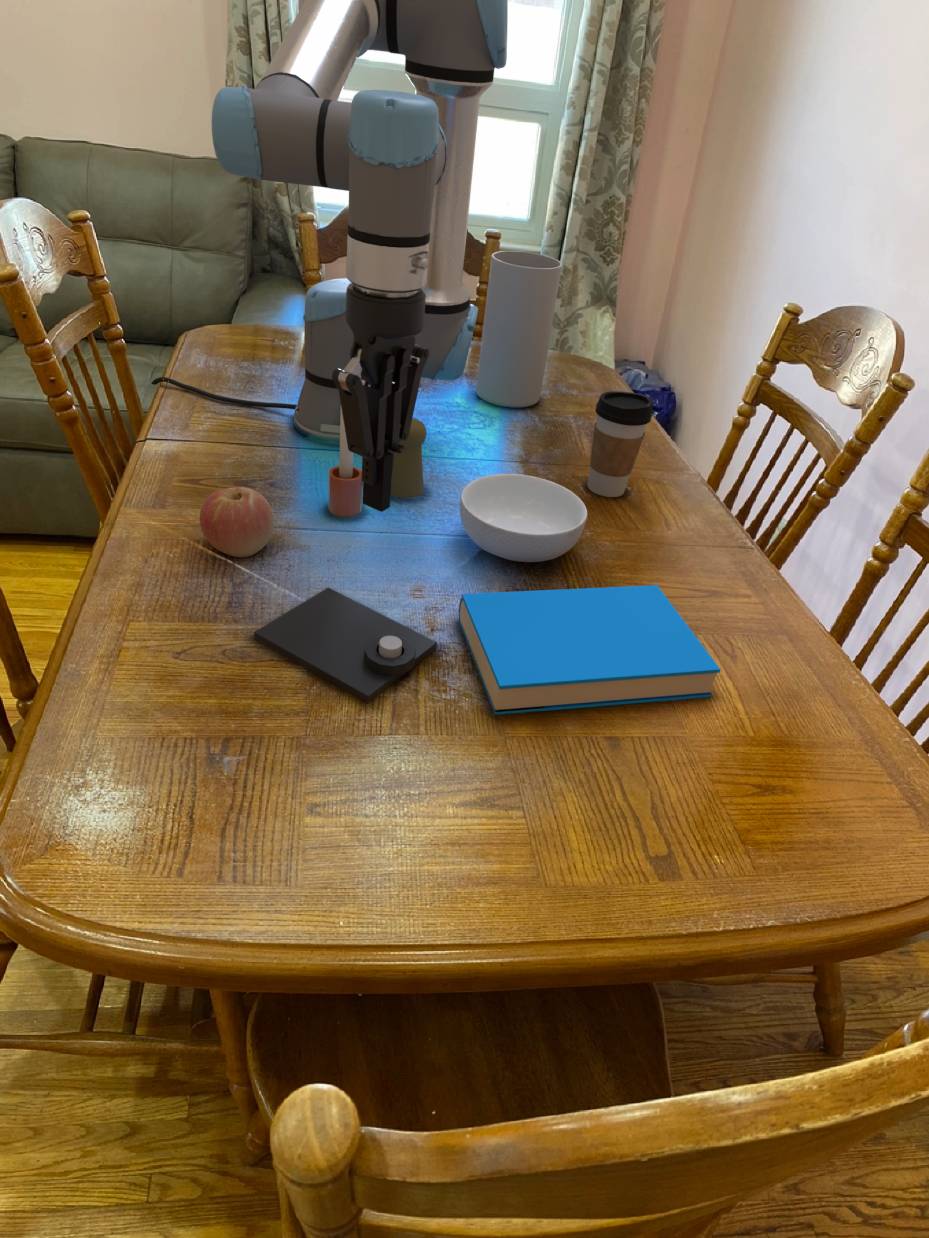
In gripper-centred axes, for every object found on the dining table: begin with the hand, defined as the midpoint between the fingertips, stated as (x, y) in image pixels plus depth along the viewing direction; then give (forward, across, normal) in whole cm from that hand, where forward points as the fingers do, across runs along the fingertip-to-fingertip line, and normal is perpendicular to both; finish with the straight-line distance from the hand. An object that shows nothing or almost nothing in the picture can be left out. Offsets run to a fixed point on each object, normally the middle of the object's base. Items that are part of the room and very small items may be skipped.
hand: (376, 505), depth 92 cm
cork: (+13, +25, +14) cm, 31 cm away
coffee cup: (+14, +49, -8) cm, 51 cm away
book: (+13, +6, -25) cm, 29 cm away
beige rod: (+12, +14, +16) cm, 24 cm away
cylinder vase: (+14, +71, +24) cm, 76 cm away
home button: (+10, -9, -10) cm, 17 cm away
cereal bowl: (+13, +23, -7) cm, 27 cm away
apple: (+13, -3, +19) cm, 23 cm away
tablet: (+12, -9, -4) cm, 16 cm away
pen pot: (+13, +14, +16) cm, 25 cm away
